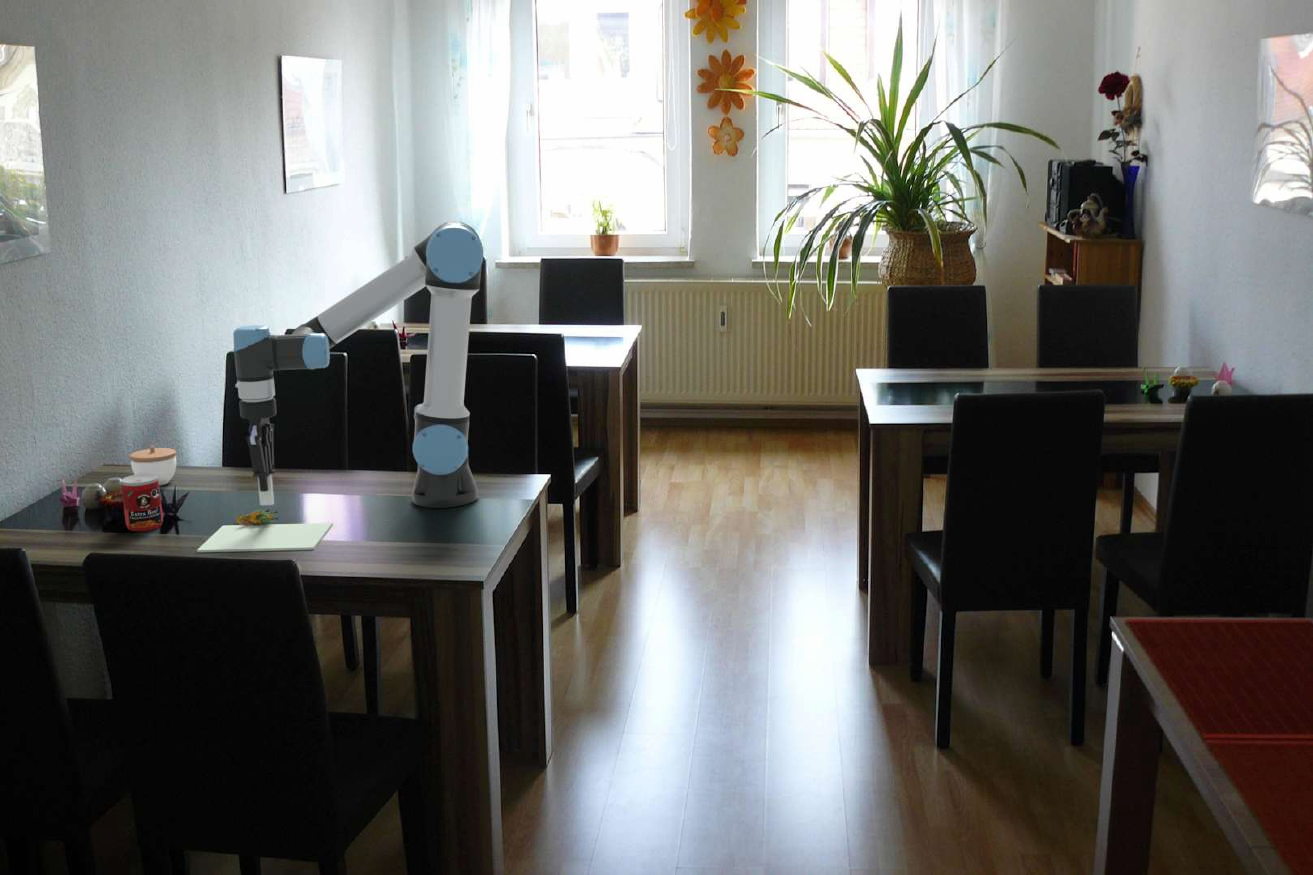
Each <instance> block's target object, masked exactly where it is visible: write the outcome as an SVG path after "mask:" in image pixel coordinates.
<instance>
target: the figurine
mask: <svg viewBox="0 0 1313 875" xmlns="http://www.w3.org/2000/svg"><path fill="white" fill-rule="evenodd" d="M274 514H279V512H278V510H275V511H274V510H273V511H270V508H268V509H266V510H262V509H256V510H253V511H251V513H249V514H242V515H239V516H235V519H236V521H237V525H245V526H246V525H248V524H249V525H265V524H268V523H270V522H271V523H274V522H275V520H277V521H279V520H280V518H279V517H272V516H273V515H274ZM240 520H241V521H242V522H240Z"/></svg>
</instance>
